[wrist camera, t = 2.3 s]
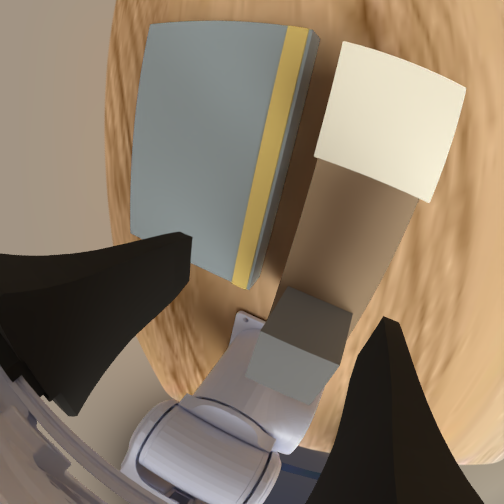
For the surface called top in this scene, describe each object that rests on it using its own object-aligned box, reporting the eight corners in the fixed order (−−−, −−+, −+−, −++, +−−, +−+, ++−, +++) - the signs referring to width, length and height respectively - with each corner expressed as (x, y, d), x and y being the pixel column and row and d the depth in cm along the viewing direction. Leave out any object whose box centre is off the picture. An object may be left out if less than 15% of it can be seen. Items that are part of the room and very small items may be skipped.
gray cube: (353, 313, 15) (339, 365, 12) (327, 357, 17) (309, 405, 14) (288, 285, 16) (260, 330, 13) (271, 332, 18) (244, 376, 15)
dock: (320, 38, 14) (312, 29, 12) (259, 276, 23) (248, 291, 21) (167, 28, 17) (148, 24, 15) (145, 225, 26) (129, 233, 24)
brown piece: (431, 106, 13) (451, 101, 9) (346, 314, 21) (334, 359, 17) (353, 76, 14) (343, 60, 10) (288, 289, 22) (264, 329, 18)
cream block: (441, 96, 9) (466, 88, 6) (415, 178, 11) (429, 203, 8) (354, 64, 10) (342, 41, 7) (332, 145, 12) (313, 156, 9)
